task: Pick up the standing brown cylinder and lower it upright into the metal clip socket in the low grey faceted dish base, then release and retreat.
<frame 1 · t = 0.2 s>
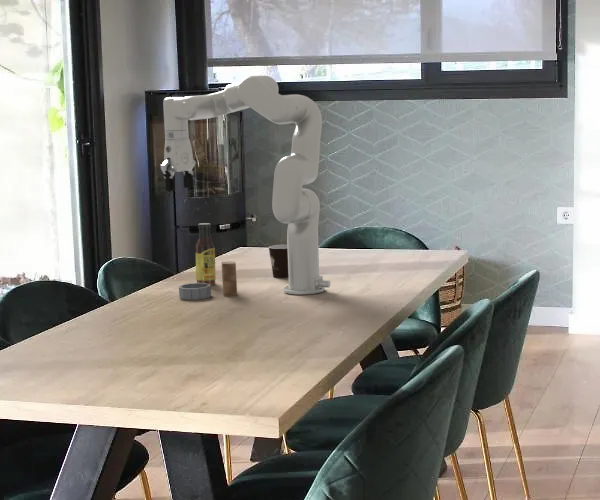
hand: (179, 189, 360), 31 cm above the table, fingers open, 9 cm apart
brown cylinder: (230, 294, 343), on the table
coffee mug: (283, 276, 373), on the table
grey faceted dish: (195, 296, 341), on the table
sauce bottle: (206, 285, 361), on the table
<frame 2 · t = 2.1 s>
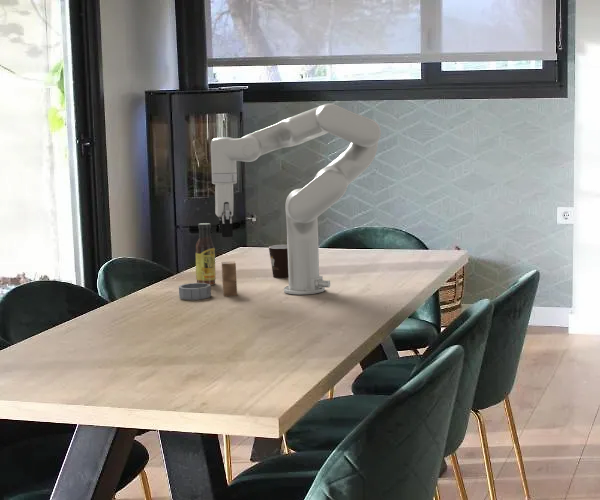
hand: (226, 234, 340), 19 cm above the table, fingers open, 9 cm apart
nothing on the table moved.
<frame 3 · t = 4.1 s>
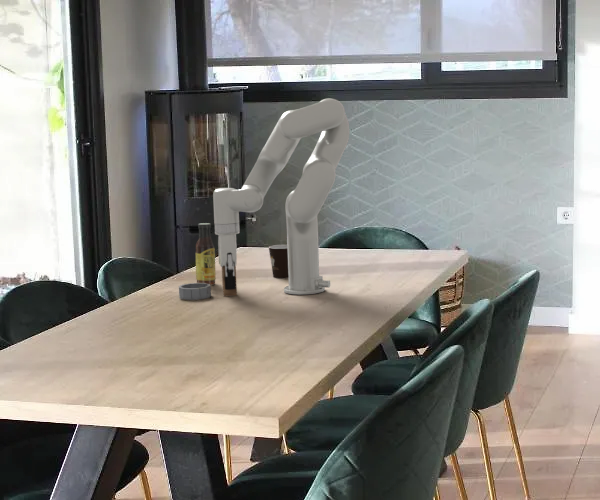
hand: (229, 287, 343), 2 cm above the table, fingers closed on brown cylinder, 4 cm apart
brown cylinder: (229, 294, 343), on the table, touching gripper
everything else where it was.
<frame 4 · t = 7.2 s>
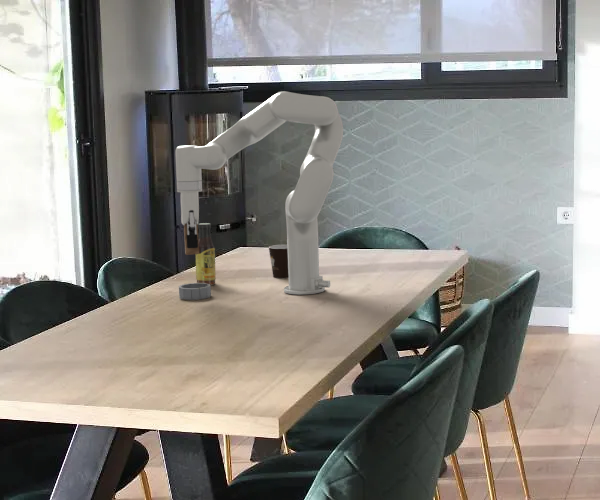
hand: (192, 246, 339), 16 cm above the table, fingers closed on brown cylinder, 4 cm apart
brown cylinder: (192, 253, 339), point 13 cm above the table, touching gripper
everything else where it was.
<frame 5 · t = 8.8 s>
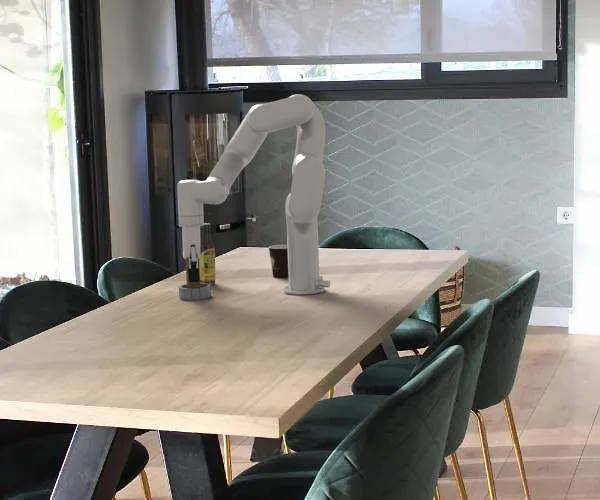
hand: (193, 279, 340), 5 cm above the table, fingers closed on brown cylinder, 4 cm apart
brown cylinder: (193, 287, 341), point 3 cm above the table, touching gripper
everything else where it was.
when the fingers open (4 cm above the table, at t = 10.1 s): brown cylinder drops 1 cm, resting on grey faceted dish.
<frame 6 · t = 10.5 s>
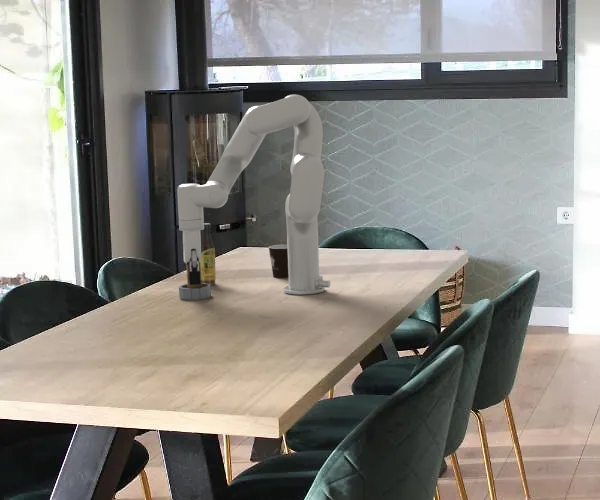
hand: (194, 281, 341), 5 cm above the table, fingers open, 7 cm apart
brown cylinder: (194, 294, 341), point 1 cm above the table, touching grey faceted dish
everything else where it was.
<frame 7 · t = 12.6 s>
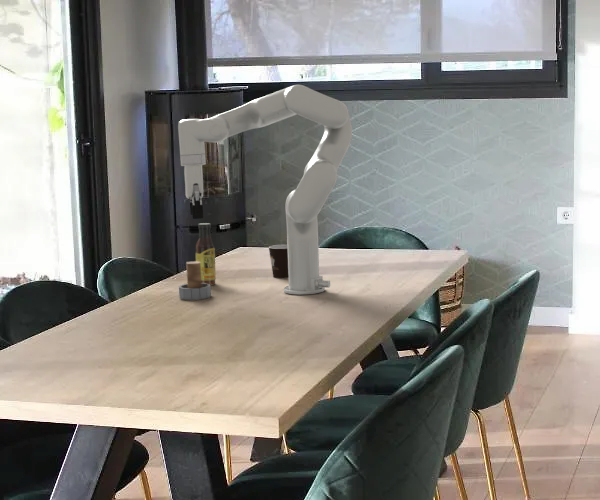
hand: (196, 216, 338), 25 cm above the table, fingers open, 9 cm apart
nothing on the table moved.
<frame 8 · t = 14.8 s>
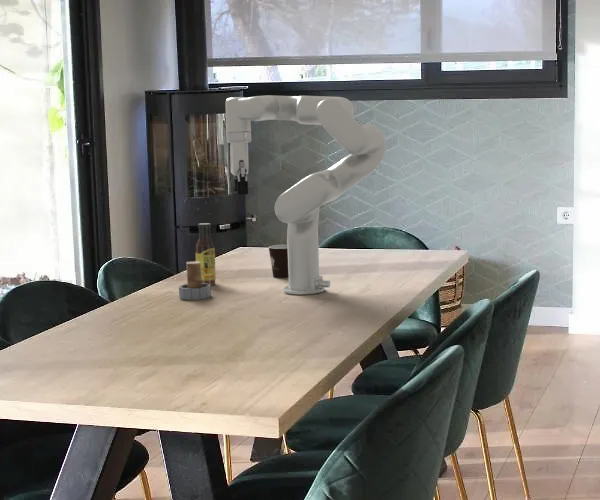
hand: (241, 192, 347), 30 cm above the table, fingers open, 9 cm apart
nothing on the table moved.
at the end: brown cylinder 0.1 cm off-centre on the grey faceted dish, point 0.6 cm above the grey faceted dish's base; brown cylinder tilted 0°; the gripper is holding nothing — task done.
